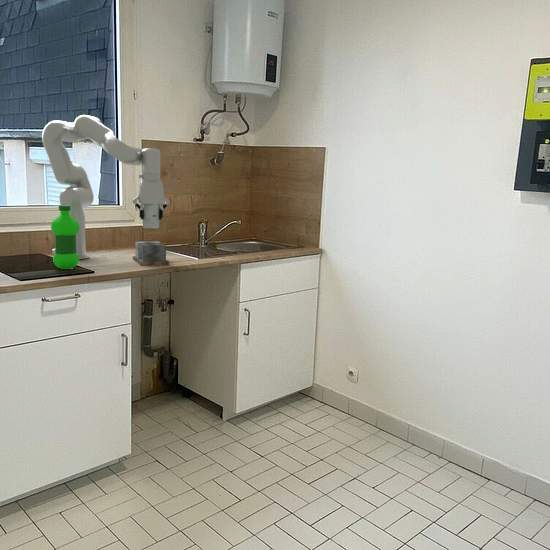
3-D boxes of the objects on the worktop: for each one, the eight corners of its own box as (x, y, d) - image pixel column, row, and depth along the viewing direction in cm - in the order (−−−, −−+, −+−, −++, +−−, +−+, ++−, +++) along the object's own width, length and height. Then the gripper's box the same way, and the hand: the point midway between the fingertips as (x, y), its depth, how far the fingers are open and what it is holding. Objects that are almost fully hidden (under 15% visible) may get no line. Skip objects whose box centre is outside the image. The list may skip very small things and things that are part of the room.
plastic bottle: (47, 270, 217) (45, 205, 213) (61, 266, 227) (59, 204, 223) (71, 271, 216) (69, 206, 212) (84, 267, 226) (83, 205, 222)
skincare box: (142, 227, 240) (142, 199, 238) (146, 227, 245) (146, 199, 243) (156, 228, 239) (156, 200, 237) (159, 227, 244) (159, 200, 242)
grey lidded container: (141, 265, 236) (140, 245, 235) (132, 259, 252) (132, 240, 251) (168, 264, 241) (168, 245, 240) (159, 258, 257) (159, 240, 256)
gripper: (132, 177, 231) (132, 219, 235) (173, 178, 239) (173, 220, 242) (129, 177, 238) (129, 218, 241) (169, 178, 245) (168, 218, 249)
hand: (151, 219), depth 241 cm, fingers closed on skincare box, 7 cm apart
